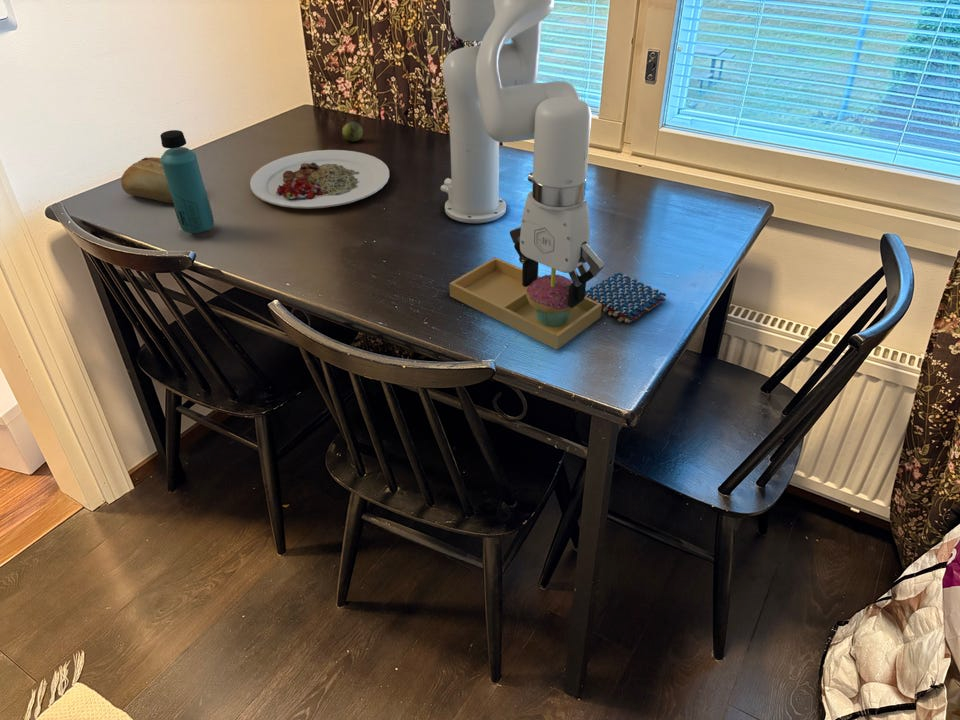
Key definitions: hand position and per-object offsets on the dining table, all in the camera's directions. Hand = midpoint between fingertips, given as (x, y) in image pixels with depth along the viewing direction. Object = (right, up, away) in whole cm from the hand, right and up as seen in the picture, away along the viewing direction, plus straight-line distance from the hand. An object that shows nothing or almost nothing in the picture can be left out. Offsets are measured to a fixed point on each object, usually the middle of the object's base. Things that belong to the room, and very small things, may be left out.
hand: (552, 293), depth 112 cm
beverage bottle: (-66, +14, +28) cm, 73 cm away
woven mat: (+12, -1, +7) cm, 15 cm away
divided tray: (-4, -2, +6) cm, 8 cm away
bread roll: (-80, +24, +41) cm, 93 cm away
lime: (-43, +43, +65) cm, 89 cm away
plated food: (-46, +28, +45) cm, 71 cm away
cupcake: (0, -4, +3) cm, 5 cm away
